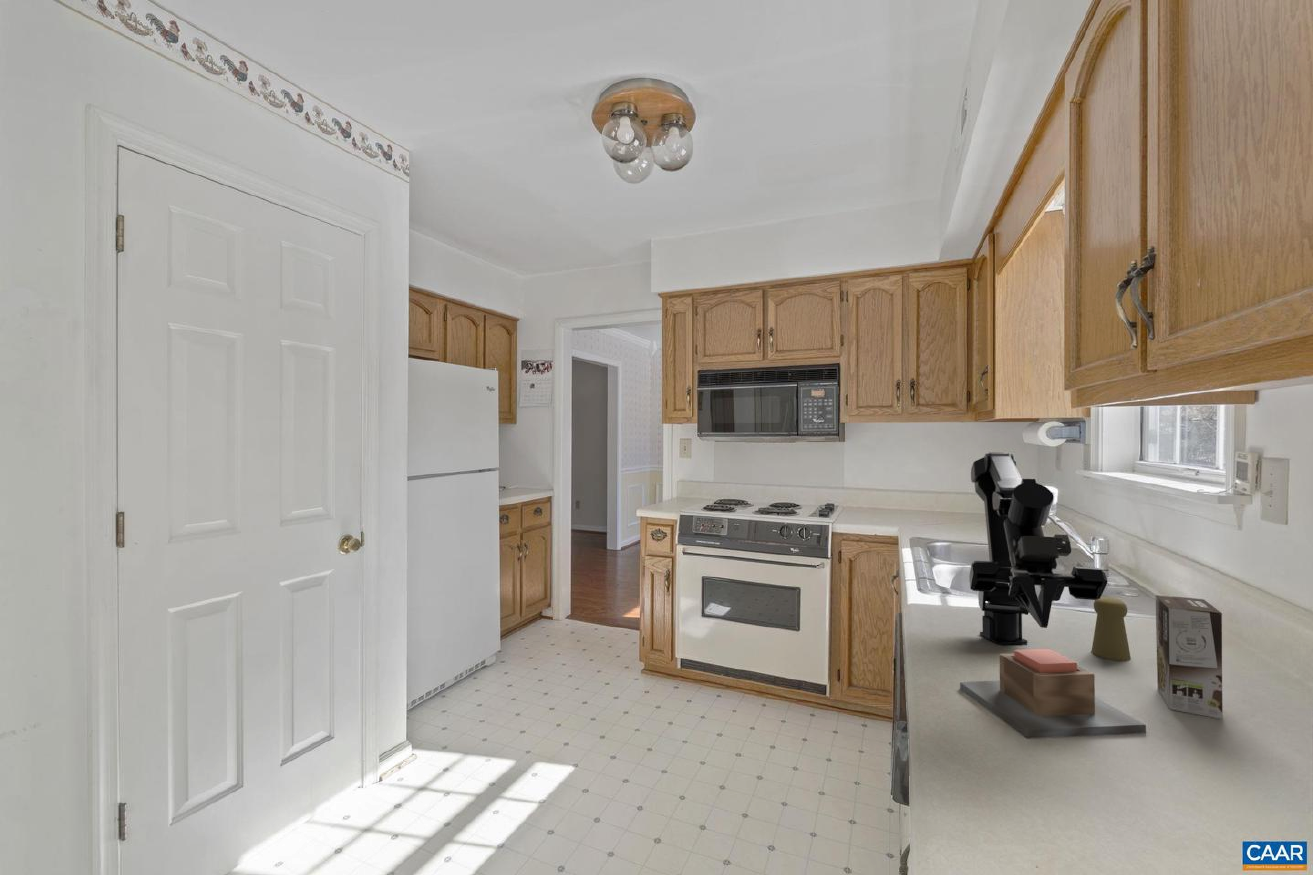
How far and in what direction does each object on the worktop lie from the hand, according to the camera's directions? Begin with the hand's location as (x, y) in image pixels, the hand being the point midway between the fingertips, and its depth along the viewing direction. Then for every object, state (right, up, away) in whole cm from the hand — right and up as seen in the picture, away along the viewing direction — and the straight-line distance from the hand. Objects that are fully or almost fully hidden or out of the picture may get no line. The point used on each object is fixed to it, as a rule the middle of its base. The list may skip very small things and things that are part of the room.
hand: (1044, 626), depth 89 cm
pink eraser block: (0, -11, 0) cm, 11 cm away
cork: (+28, -13, +22) cm, 38 cm away
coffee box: (+24, -13, +2) cm, 27 cm away
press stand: (0, -13, 0) cm, 13 cm away
